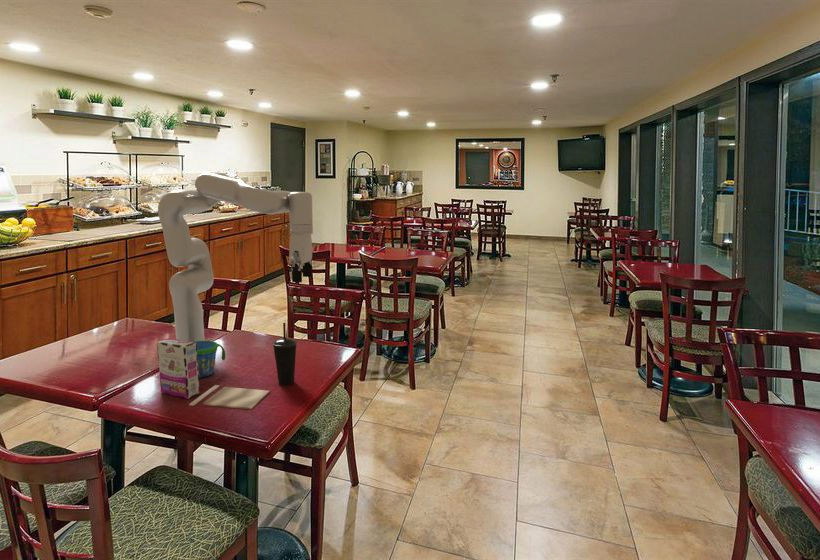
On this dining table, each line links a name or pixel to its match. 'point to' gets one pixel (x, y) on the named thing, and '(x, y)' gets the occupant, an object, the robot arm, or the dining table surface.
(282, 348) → the drinking cup
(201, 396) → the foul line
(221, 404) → the board
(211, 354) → the snack cup
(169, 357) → the candy bar box
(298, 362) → the dining table surface
